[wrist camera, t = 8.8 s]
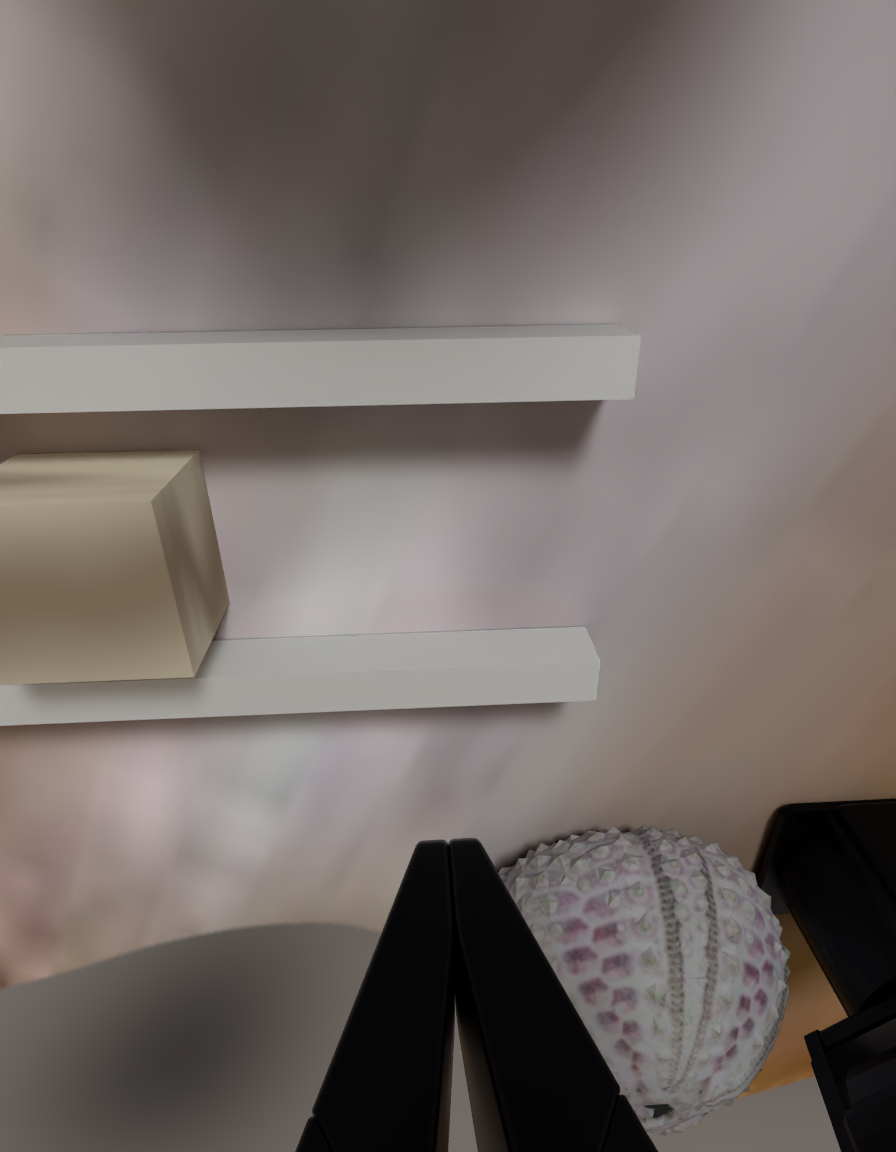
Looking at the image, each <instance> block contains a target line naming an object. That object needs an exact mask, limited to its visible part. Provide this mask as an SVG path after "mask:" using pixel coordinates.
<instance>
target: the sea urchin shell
mask: <svg viewBox="0 0 896 1152" xmlns="http://www.w3.org/2000/svg"><path fill="white" fill-rule="evenodd" d="M498 874H499V875H500V877H501V879H502V881H503V882H504V884H505V886H506V888H507V889H508V891H509V893H510V895H511V896H512V898H513V900H514V902H515V903H516V905H517V907H518V909H519V910H520V912H521V914H522V916H523V917H524V919H525V921H526V923H527V924H528V926H529V928H530V930H531V931H532V933H533V935H534V937H535V939H536V940H537V942H538V944H539V946H540V947H541V949H542V951H543V953H544V954H545V956H546V958H547V960H548V961H549V963H550V965H551V967H552V968H553V970H554V972H555V974H556V975H557V977H558V979H559V981H560V982H561V984H562V986H563V988H564V989H565V991H566V993H567V995H568V996H569V998H570V1000H571V1002H572V1003H573V1005H574V1007H575V1009H576V1010H577V1012H578V1014H579V1016H580V1017H581V1019H582V1021H583V1023H584V1024H585V1026H586V1028H587V1030H588V1031H589V1033H590V1035H591V1037H592V1038H593V1040H594V1042H595V1044H596V1045H597V1047H598V1049H599V1051H600V1052H601V1054H602V1056H603V1058H604V1059H605V1061H606V1063H607V1065H608V1066H609V1068H610V1070H611V1072H612V1074H613V1075H614V1077H615V1079H616V1081H617V1082H618V1084H619V1086H620V1094H619V1095H621V1094H624V1095H625V1096H626V1097H627V1099H628V1101H629V1103H630V1104H631V1106H632V1108H633V1110H634V1111H635V1113H636V1115H637V1117H638V1118H639V1120H640V1122H641V1124H642V1125H643V1127H644V1129H645V1131H646V1132H647V1134H648V1135H651V1134H652V1135H668V1134H673V1133H678V1132H682V1131H683V1130H684V1129H687V1128H690V1127H692V1126H694V1125H695V1124H696V1123H698V1122H701V1119H702V1118H703V1117H704V1116H705V1115H706V1114H708V1113H709V1112H712V1111H715V1110H717V1109H719V1108H721V1107H723V1106H725V1105H729V1106H732V1104H733V1101H734V1099H735V1098H736V1097H738V1096H739V1095H740V1094H741V1093H742V1092H748V1091H750V1089H749V1085H750V1084H751V1082H752V1081H753V1080H754V1078H755V1077H756V1075H757V1074H758V1073H759V1072H760V1071H762V1066H763V1065H764V1063H765V1061H766V1059H767V1056H768V1054H769V1053H770V1051H771V1050H772V1048H773V1046H774V1043H775V1040H776V1038H777V1035H778V1033H779V1030H780V1026H781V1021H782V1019H783V1016H784V1011H785V1007H786V1004H787V999H788V995H789V988H788V983H787V978H788V976H789V974H790V970H789V968H788V966H787V965H786V962H787V960H788V958H789V956H790V954H791V952H790V951H788V950H787V949H786V948H785V946H784V944H783V942H782V940H781V938H780V935H781V932H782V927H781V926H780V923H779V920H778V919H777V918H776V917H775V916H774V914H773V913H772V910H771V896H769V895H767V894H766V893H765V892H764V891H763V890H761V889H760V888H759V887H758V886H757V881H756V877H755V873H752V872H750V871H747V870H744V869H743V867H742V865H741V863H740V861H739V859H738V857H735V856H731V855H727V854H724V853H723V852H722V851H721V849H720V847H719V846H718V844H717V843H708V844H705V843H704V842H703V841H701V840H700V839H699V838H698V837H697V836H693V837H689V838H686V836H683V837H681V836H680V835H679V834H678V833H677V832H676V831H675V829H671V830H668V831H664V832H663V831H662V830H661V829H660V830H656V829H655V828H651V829H647V828H646V827H645V826H644V825H643V826H642V827H640V828H639V829H637V830H634V831H632V832H626V833H622V832H620V831H619V830H618V829H616V828H615V827H613V828H612V829H611V830H609V831H608V830H606V829H603V830H601V831H599V832H595V831H587V832H586V833H584V834H583V835H582V836H577V835H571V836H570V837H569V838H567V839H566V840H565V841H562V840H559V842H558V843H554V844H553V845H550V846H547V845H545V844H543V843H541V844H540V845H539V847H538V848H537V849H536V851H535V850H529V851H528V854H527V856H526V858H518V861H517V863H516V865H515V866H513V867H511V866H510V867H507V868H501V870H500V871H499V873H498Z"/></svg>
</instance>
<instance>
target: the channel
mask: <svg viewBox="0 0 896 1152" xmlns="http://www.w3.org/2000/svg"><path fill="white" fill-rule="evenodd" d="M641 337H642V335H640V334H638V333H636V332H633V331H631V330H629V329H627V328H625V327H623V326H621V325H618V324H601V325H547V326H493V327H439V328H385V329H331V330H277V331H223V332H169V333H115V334H61V335H7V336H0V414H22V413H65V412H108V411H151V410H193V409H236V408H279V407H322V406H365V405H407V404H450V403H493V402H536V401H579V400H622V399H634V392H635V384H636V376H637V368H638V360H639V352H640V345H641ZM600 664H601V662H600V659H599V657H598V655H597V652H596V650H595V648H594V646H593V643H592V641H591V639H590V637H589V634H588V632H587V630H586V627H562V628H536V629H510V630H483V631H457V632H430V633H404V634H377V635H351V636H325V637H298V638H272V639H245V640H219V641H211V643H210V645H209V647H208V650H207V652H206V654H205V656H204V658H203V660H202V662H201V664H200V666H199V668H198V671H197V673H196V675H195V677H187V678H162V679H138V680H113V681H89V682H64V683H39V684H15V685H1V684H0V726H8V725H32V724H55V723H79V722H102V721H126V720H149V719H173V718H196V717H220V716H243V715H267V714H290V713H314V712H337V711H361V710H384V709H408V708H431V707H455V706H478V705H501V704H525V703H548V702H572V701H595V700H596V696H597V688H598V680H599V672H600Z"/></svg>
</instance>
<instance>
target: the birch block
mask: <svg viewBox="0 0 896 1152" xmlns="http://www.w3.org/2000/svg"><path fill="white" fill-rule="evenodd" d="M229 603H230V601H229V596H228V591H227V586H226V581H225V576H224V571H223V566H222V561H221V556H220V551H219V546H218V541H217V536H216V531H215V526H214V521H213V516H212V511H211V506H210V501H209V496H208V491H207V486H206V482H205V477H204V472H203V467H202V462H201V457H200V452H199V450H167V451H128V452H90V453H51V454H16V455H15V456H13V457H11V458H9V459H8V460H6V461H4V462H3V463H1V464H0V684H1V685H15V684H39V683H64V682H89V681H113V680H138V679H162V678H187V677H195V675H196V673H197V671H198V668H199V666H200V664H201V662H202V660H203V658H204V656H205V654H206V652H207V650H208V647H209V645H210V643H211V641H212V639H213V637H214V635H215V633H216V631H217V628H218V626H219V624H220V622H221V620H222V618H223V616H224V614H225V612H226V610H227V607H228V605H229Z"/></svg>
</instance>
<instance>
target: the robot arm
mask: <svg viewBox="0 0 896 1152" xmlns="http://www.w3.org/2000/svg"><path fill="white" fill-rule="evenodd" d="M757 886H758V887H759V888H760V889H761V890H763V891H764V892H765V893H766V894H767V895H769V896H771V910H772V913H773V914H784V913H791V915H792V917H793V918H794V920H795V922H796V924H797V926H798V927H799V929H800V931H801V933H802V935H803V936H804V938H805V940H806V942H807V944H808V945H809V947H810V949H811V951H812V953H813V954H814V956H815V958H816V960H817V962H818V963H819V965H820V967H821V969H822V971H823V972H824V974H825V976H826V978H827V980H828V981H829V983H830V985H831V987H832V989H833V990H834V992H835V994H836V996H837V998H838V999H839V1001H840V1003H841V1005H842V1007H843V1008H844V1010H845V1012H846V1014H847V1016H848V1018H846V1019H844V1020H842V1021H840V1022H838V1023H836V1024H834V1025H832V1026H830V1027H828V1028H826V1029H824V1030H822V1031H819V1030H815V1031H813V1032H811V1033H809V1034H807V1035H805V1036H804V1039H805V1042H806V1045H807V1048H808V1051H809V1054H810V1056H811V1059H812V1062H811V1064H812V1068H813V1071H814V1074H815V1076H816V1079H817V1082H818V1085H819V1088H820V1091H821V1094H822V1097H823V1100H824V1102H825V1105H826V1108H827V1111H828V1114H829V1117H830V1120H831V1123H832V1126H833V1129H834V1132H835V1135H836V1137H837V1140H838V1143H839V1146H840V1149H841V1152H896V799H880V800H860V801H840V802H820V803H800V804H790V805H788V806H785V807H784V808H783V809H781V811H780V813H779V815H778V818H777V821H776V824H775V827H774V830H773V833H772V836H771V839H770V842H769V845H768V848H767V851H766V854H765V857H764V860H763V863H762V866H761V869H760V872H759V875H758V878H757ZM455 1004H456V1016H457V1023H458V1031H459V1038H460V1044H461V1050H462V1056H463V1062H464V1069H465V1075H466V1081H467V1087H468V1093H469V1099H470V1105H471V1111H472V1118H473V1124H474V1130H475V1136H476V1143H477V1148H478V1152H658V1151H657V1149H656V1147H655V1146H654V1144H653V1142H652V1141H651V1139H650V1137H649V1136H648V1134H647V1132H646V1131H645V1129H644V1127H643V1125H642V1124H641V1122H640V1120H639V1118H638V1117H637V1115H636V1113H635V1111H634V1110H633V1108H632V1106H631V1104H630V1103H629V1101H628V1099H627V1097H626V1096H625V1095H624V1094H621V1095H619V1094H620V1086H619V1084H618V1082H617V1081H616V1079H615V1077H614V1075H613V1074H612V1072H611V1070H610V1068H609V1066H608V1065H607V1063H606V1061H605V1059H604V1058H603V1056H602V1054H601V1052H600V1051H599V1049H598V1047H597V1045H596V1044H595V1042H594V1040H593V1038H592V1037H591V1035H590V1033H589V1031H588V1030H587V1028H586V1026H585V1024H584V1023H583V1021H582V1019H581V1017H580V1016H579V1014H578V1012H577V1010H576V1009H575V1007H574V1005H573V1003H572V1002H571V1000H570V998H569V996H568V995H567V993H566V991H565V989H564V988H563V986H562V984H561V982H560V981H559V979H558V977H557V975H556V974H555V972H554V970H553V968H552V967H551V965H550V963H549V961H548V960H547V958H546V956H545V954H544V953H543V951H542V949H541V947H540V946H539V944H538V942H537V940H536V939H535V937H534V935H533V933H532V931H531V930H530V928H529V926H528V924H527V923H526V921H525V919H524V917H523V916H522V914H521V912H520V910H519V909H518V907H517V905H516V903H515V902H514V900H513V898H512V896H511V895H510V893H509V891H508V889H507V888H506V886H505V884H504V882H503V881H502V879H501V877H500V875H499V874H498V872H497V870H496V868H495V867H494V865H493V863H492V861H491V860H490V858H489V856H488V854H487V853H486V851H485V849H484V847H483V846H482V844H481V843H480V841H479V840H478V839H476V838H463V839H452V840H451V841H450V842H449V844H448V843H447V842H446V841H445V840H426V841H420V842H419V843H418V844H417V845H416V847H415V849H414V852H413V854H412V857H411V860H410V862H409V865H408V867H407V870H406V872H405V875H404V877H403V880H402V882H401V885H400V888H399V890H398V893H397V895H396V898H395V900H394V903H393V905H392V908H391V910H390V913H389V916H388V918H387V921H386V923H385V926H384V928H383V931H382V933H381V936H380V939H379V941H378V944H377V946H376V949H375V951H374V954H373V956H372V959H371V961H370V964H369V967H368V969H367V972H366V974H365V977H364V979H363V982H362V984H361V987H360V990H359V992H358V995H357V997H356V1000H355V1002H354V1005H353V1007H352V1010H351V1012H350V1015H349V1017H348V1020H347V1023H346V1025H345V1028H344V1030H343V1033H342V1035H341V1038H340V1040H339V1043H338V1046H337V1048H336V1051H335V1053H334V1056H333V1058H332V1061H331V1064H330V1066H329V1068H328V1071H327V1073H326V1076H325V1079H324V1081H323V1084H322V1086H321V1089H320V1091H319V1094H318V1097H317V1099H316V1102H315V1104H314V1107H313V1110H312V1113H313V1117H310V1118H309V1119H308V1121H307V1123H306V1126H305V1129H304V1131H303V1134H302V1136H301V1139H300V1141H299V1144H298V1147H297V1149H296V1151H295V1152H448V1143H449V1124H450V1105H451V1086H452V1067H453V1048H454V1022H455Z"/></svg>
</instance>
